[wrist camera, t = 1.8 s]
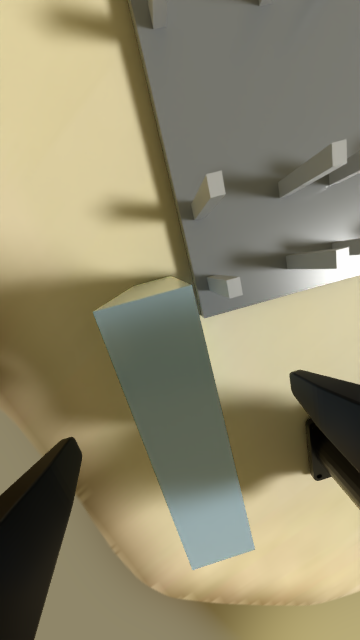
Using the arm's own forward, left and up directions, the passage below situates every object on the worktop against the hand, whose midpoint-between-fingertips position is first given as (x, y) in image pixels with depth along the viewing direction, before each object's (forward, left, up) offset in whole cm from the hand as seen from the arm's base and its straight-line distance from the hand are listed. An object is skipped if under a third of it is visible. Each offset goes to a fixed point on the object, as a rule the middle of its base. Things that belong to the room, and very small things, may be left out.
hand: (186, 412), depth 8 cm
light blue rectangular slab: (0, 0, -6) cm, 6 cm away
